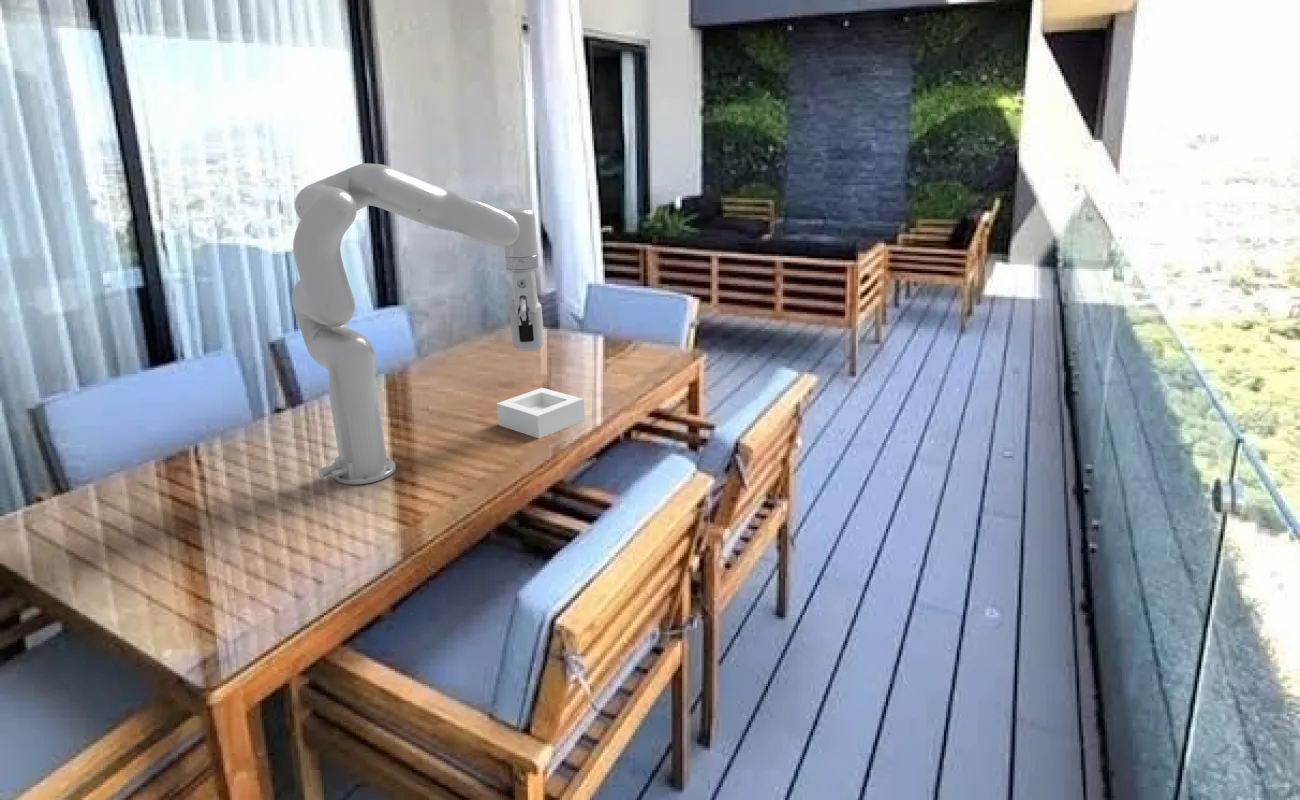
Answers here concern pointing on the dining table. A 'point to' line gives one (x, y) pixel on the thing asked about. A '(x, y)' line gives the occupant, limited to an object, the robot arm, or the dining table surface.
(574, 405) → the riser
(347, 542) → the dining table surface
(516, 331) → the can
